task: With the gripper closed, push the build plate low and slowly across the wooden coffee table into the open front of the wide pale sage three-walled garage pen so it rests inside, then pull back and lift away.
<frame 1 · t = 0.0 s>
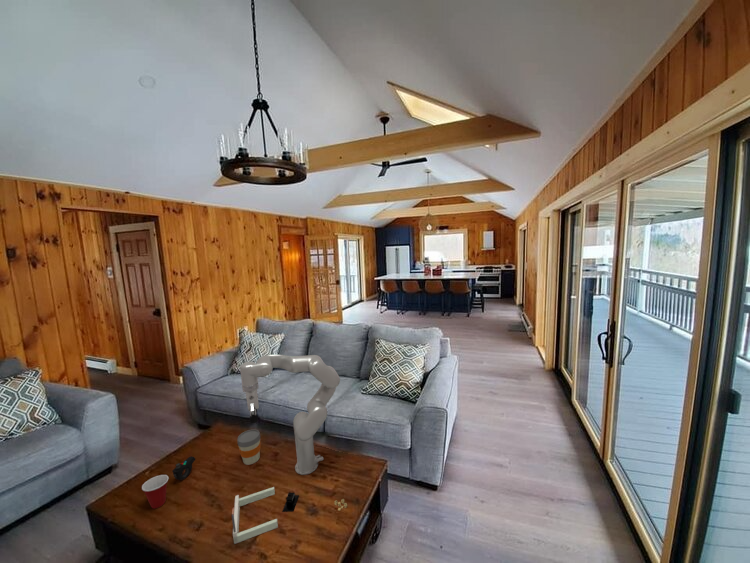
hand: (254, 417, 156), 37 cm above the table, tool pointing down, fingers open, 9 cm apart
reusable coffee cup: (251, 459, 178), on the table
garage pen: (251, 517, 139), on the table
controller: (185, 476, 167), on the table
plastic cup: (159, 503, 150), on the table
dice set: (341, 506, 143), on the table
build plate: (291, 504, 146), on the table
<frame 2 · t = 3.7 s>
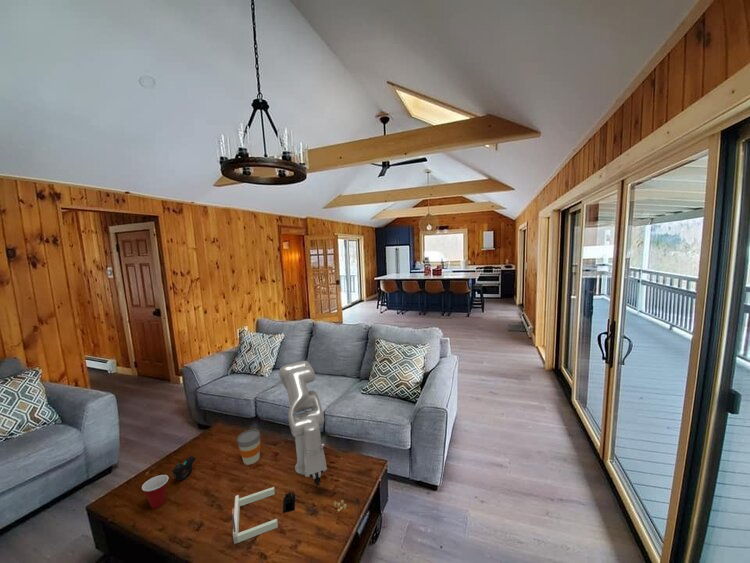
hand: (317, 483, 149), 6 cm above the table, tool pointing down, fingers closed
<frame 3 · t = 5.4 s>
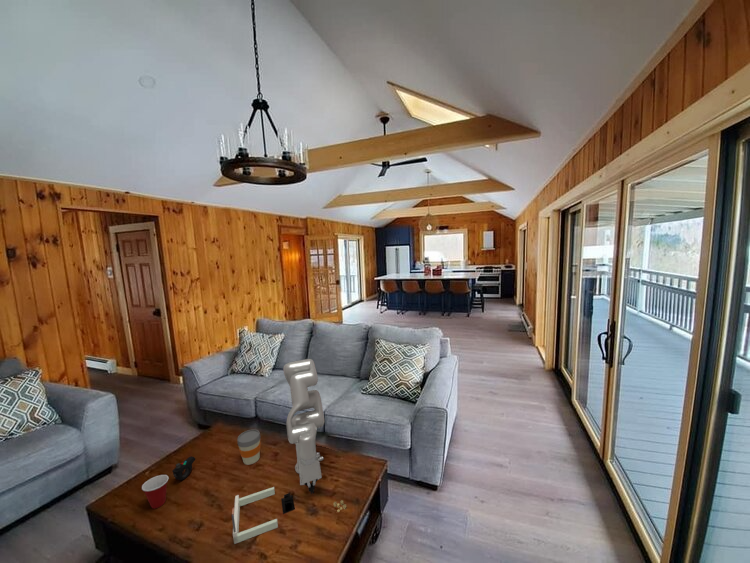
hand: (312, 491, 149), 2 cm above the table, tool pointing down, fingers closed
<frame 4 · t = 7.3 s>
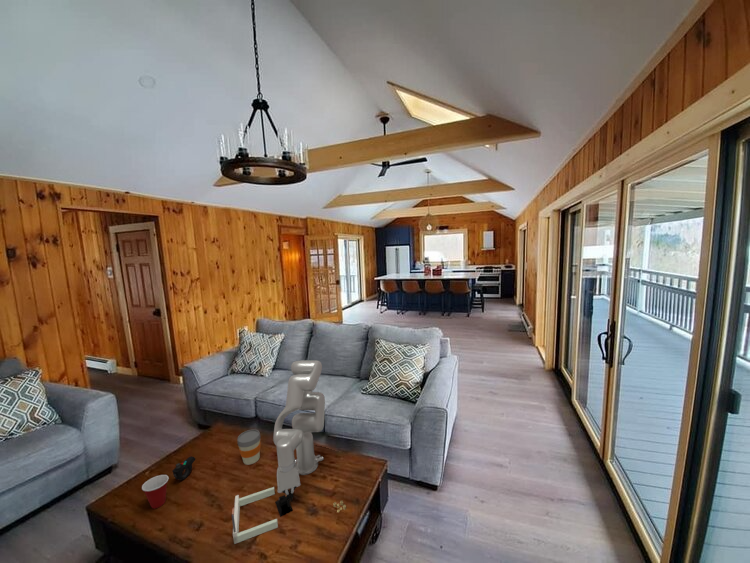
hand: (290, 499, 145), 2 cm above the table, tool pointing down, fingers closed
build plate: (283, 507, 145), on the table
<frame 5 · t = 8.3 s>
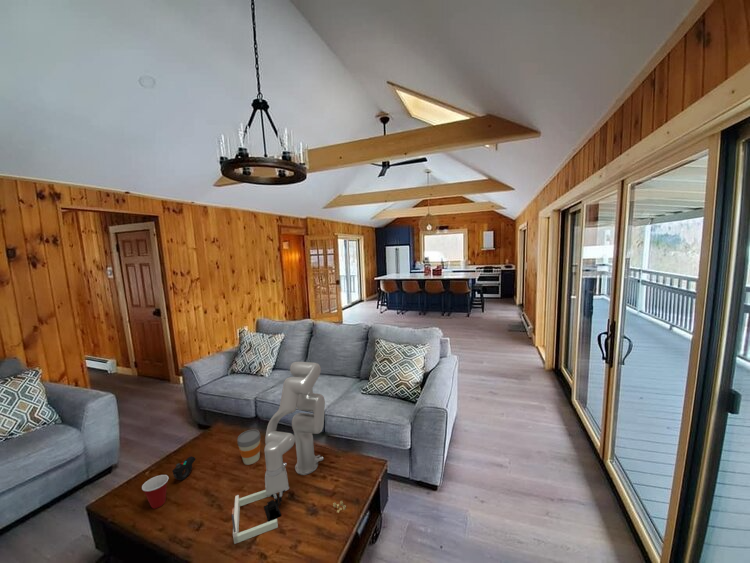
hand: (278, 503, 144), 2 cm above the table, tool pointing down, fingers closed
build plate: (272, 512, 142), on the table
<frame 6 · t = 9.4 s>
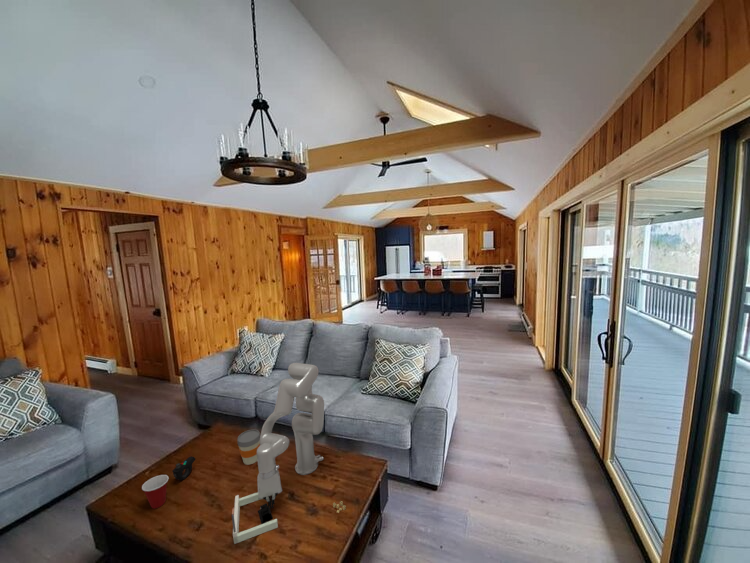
hand: (271, 506, 142), 2 cm above the table, tool pointing down, fingers closed
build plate: (265, 516, 141), on the table
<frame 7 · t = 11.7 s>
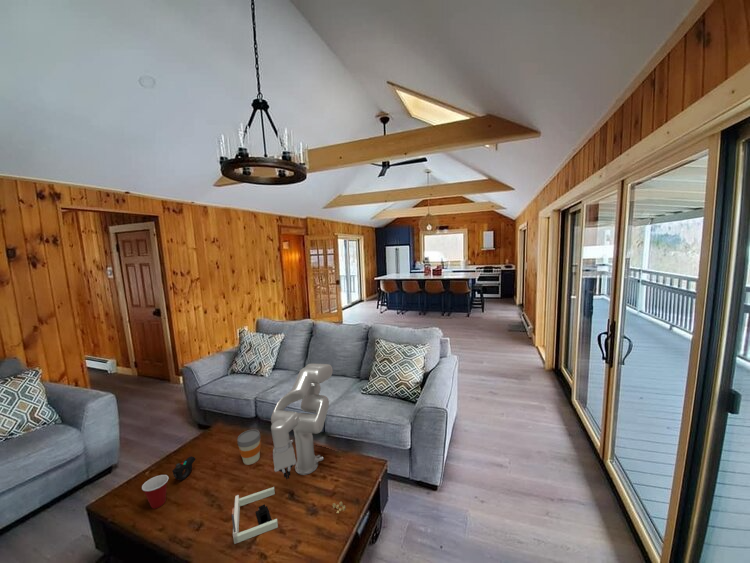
hand: (287, 477, 150), 10 cm above the table, tool pointing down, fingers closed
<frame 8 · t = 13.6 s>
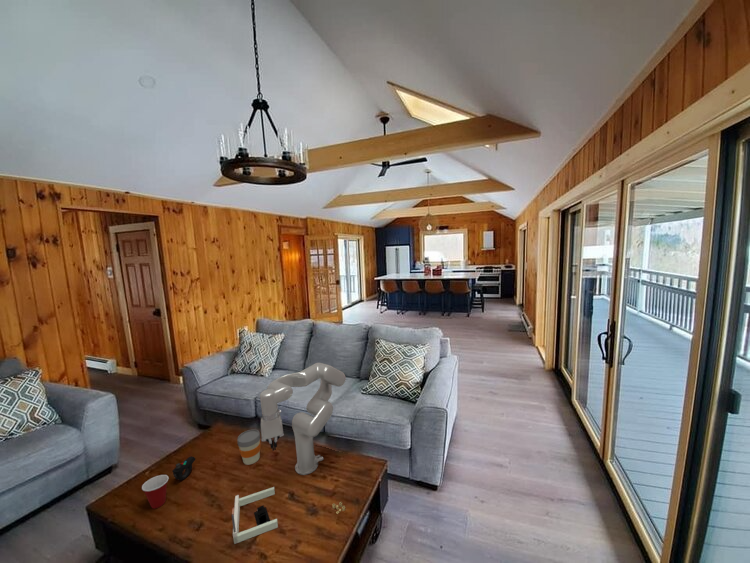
hand: (274, 448, 151), 23 cm above the table, tool pointing down, fingers closed
at the end: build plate inside the target area on the garage pen (2.3 cm from its centre), point -0.8 cm above the garage pen's base; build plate tilted 0°; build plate moved 13.6 cm from its start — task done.
